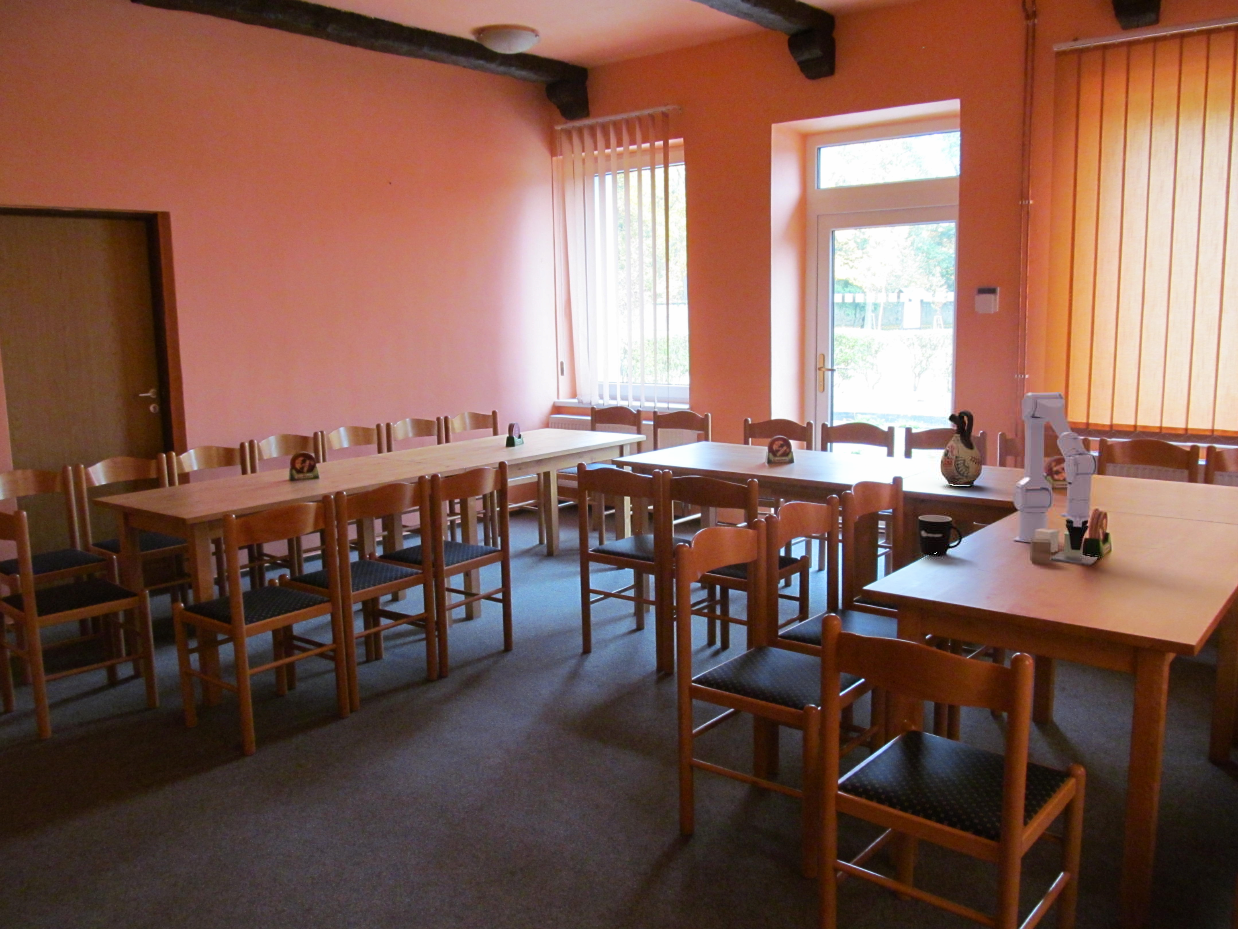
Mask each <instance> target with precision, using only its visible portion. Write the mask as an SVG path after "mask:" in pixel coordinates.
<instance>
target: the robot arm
mask: <svg viewBox="0 0 1238 929" xmlns="http://www.w3.org/2000/svg"><path fill="white" fill-rule="evenodd" d="M1021 405H1022V406H1021V417H1022V418H1021V419H1022V421H1025V425H1024V426H1025V428H1024V429H1025V430H1024V432H1025V433H1024V436H1025V437H1024V438H1025V439H1024V443H1025V444H1024V477H1023V478H1022V479H1021V480H1018V482H1017V483H1015V487H1014V493H1013V496H1012V501H1013V504H1014V505H1013V506H1015V508H1016V510H1018V511H1019V512H1018V528H1017V529H1018V530H1017V531H1018V532H1017V534H1018V535H1017V536H1016V537H1014V538H1013V541H1015V542H1024V543H1030V544H1031V538H1035V530H1037V529H1041V528H1048V515H1047V512H1049V509H1051V508H1052V506H1053V503H1054V493H1053V490H1052V489H1053V488H1052V484H1051V483H1050V482H1049V481H1048V480H1046V479H1045V478H1044V477H1045V476H1044V475H1045V469H1044V468H1045V425H1046V423H1047V422H1049V425H1050V426H1051V427H1052V429H1053V430H1054V432H1055V434H1056V435H1057V437H1058V438H1057V440H1056V445H1057V447H1058V448H1059V450H1060V453H1061V454H1062V457H1063V458H1064V463H1063V468H1064V472H1065V480H1066V482H1067V487H1066V488H1067V491H1066V507H1065V508H1066V509H1065V512H1061V514H1060V516H1061V517H1063V518H1066V519H1065V522H1066V523H1065V528H1066V529H1067V530H1066V531H1068V532H1069V536H1070V545H1071V549H1072V550H1080V549H1081V545H1082V541H1083V542H1084V537H1085V535H1086V533H1087V531H1088V530H1089V527H1090V526H1089V525H1088V524H1089V519H1090V518H1091V515H1090V511H1091V510H1090V507H1091V492H1092V476H1093V475H1095V474H1096V472H1097V470H1098V461H1097V458H1096V456H1095V455H1094V454H1093V453H1090V451H1087V450H1086V448H1085V446H1084V443H1083V442H1082V440H1081V439H1080V436H1079V434H1078V433H1077V432H1073V431H1072V429H1071V427H1070V425H1069V422H1068V420H1067V419H1068V418H1067V417H1066V414H1065V409H1066V408H1065V407H1066V400H1065V397H1064V395H1063V394H1062V392H1061V391H1060V392H1059V391H1057V392H1027V393H1026V394H1025V396H1024V397H1023V399H1022V400H1021Z"/></svg>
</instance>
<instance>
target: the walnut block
mask: <svg viewBox="0 0 1238 929" xmlns="http://www.w3.org/2000/svg"><path fill="white" fill-rule="evenodd" d="M1050 552H1051V541H1050V540H1049V539H1043V538H1031V543H1030V555H1029V559H1030V562H1032V563H1031V564H1037V563H1041V564H1040V565H1043V564H1044V565H1050V564H1051V553H1050Z"/></svg>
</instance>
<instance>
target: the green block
mask: <svg viewBox="0 0 1238 929" xmlns="http://www.w3.org/2000/svg"><path fill="white" fill-rule="evenodd" d="M1063 542H1064V543H1063V547H1064V548H1063V552H1064V556H1082V554H1084V553H1083V551H1084V550H1083V547H1084V540H1083V541H1082V545H1081V549H1080V550H1072V549H1071V545H1070V536H1069V532H1068V530H1064V541H1063Z"/></svg>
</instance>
